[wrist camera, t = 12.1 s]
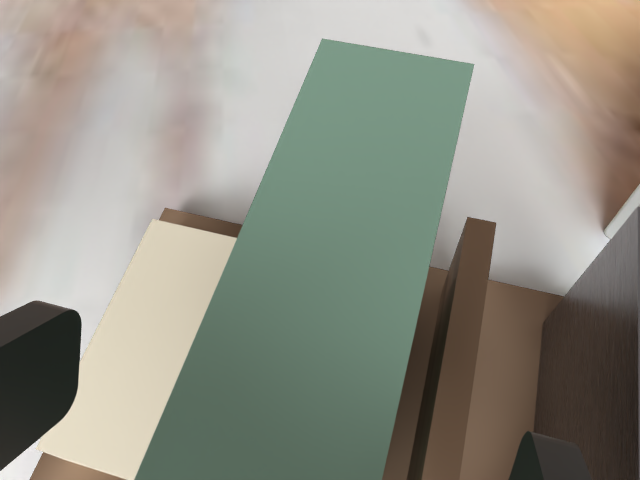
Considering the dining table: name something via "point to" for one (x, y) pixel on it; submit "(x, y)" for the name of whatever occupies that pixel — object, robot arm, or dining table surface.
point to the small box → (623, 213)
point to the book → (321, 280)
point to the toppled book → (140, 349)
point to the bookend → (597, 361)
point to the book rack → (442, 369)
